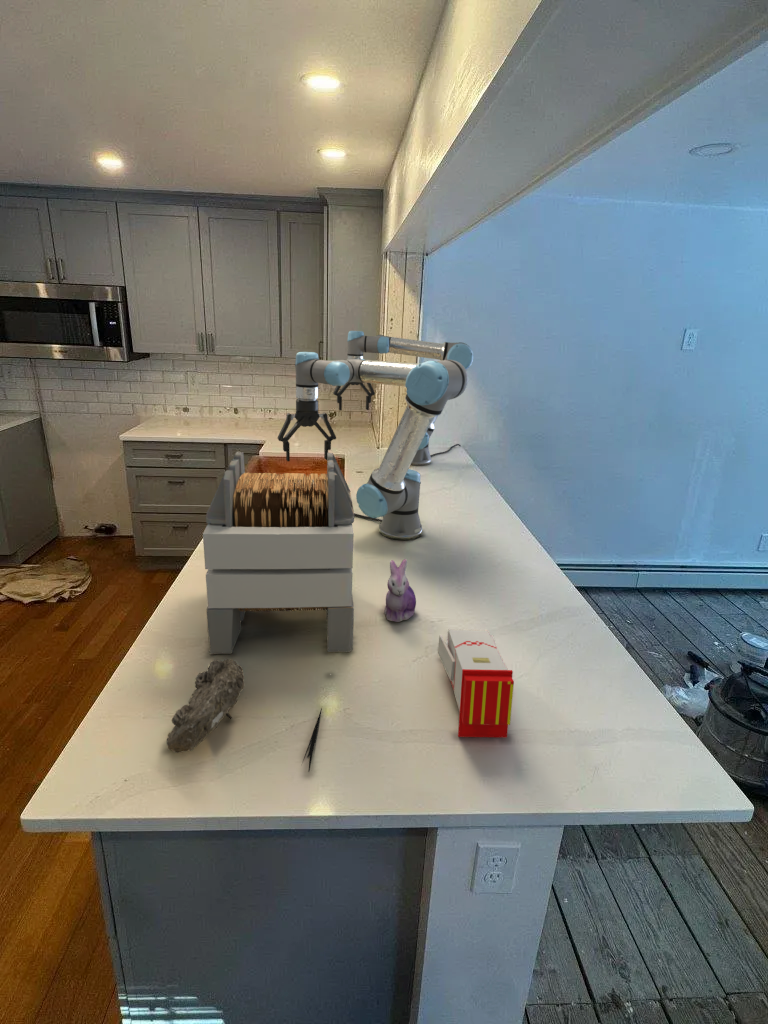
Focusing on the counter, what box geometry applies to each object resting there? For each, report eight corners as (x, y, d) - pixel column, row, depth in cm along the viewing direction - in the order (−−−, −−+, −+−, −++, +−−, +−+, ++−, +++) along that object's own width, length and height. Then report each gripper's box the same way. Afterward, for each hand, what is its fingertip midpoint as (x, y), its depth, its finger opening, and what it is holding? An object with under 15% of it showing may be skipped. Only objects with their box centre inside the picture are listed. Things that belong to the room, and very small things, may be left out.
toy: (488, 613, 130) (523, 677, 101) (484, 667, 133) (517, 744, 104) (435, 612, 130) (455, 676, 101) (432, 666, 133) (451, 743, 103)
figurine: (392, 627, 141) (395, 572, 136) (374, 608, 149) (376, 556, 144) (425, 619, 145) (429, 566, 140) (405, 601, 154) (408, 550, 149)
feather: (331, 679, 122) (336, 673, 122) (307, 777, 96) (313, 769, 95) (324, 675, 122) (329, 669, 121) (298, 772, 95) (304, 764, 95)
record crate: (229, 585, 158) (221, 442, 144) (346, 584, 161) (350, 444, 148) (206, 656, 126) (193, 481, 112) (353, 652, 130) (358, 483, 116)
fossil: (192, 660, 117) (244, 628, 112) (224, 691, 120) (276, 661, 115) (142, 746, 98) (202, 712, 93) (182, 779, 101) (242, 748, 96)
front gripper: (271, 401, 186) (273, 463, 193) (345, 400, 193) (344, 460, 200) (268, 397, 192) (270, 458, 199) (340, 397, 200) (339, 455, 207)
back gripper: (331, 365, 261) (330, 411, 269) (382, 366, 269) (380, 410, 276) (327, 363, 268) (327, 408, 275) (377, 364, 276) (376, 408, 283)
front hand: (307, 459), depth 200 cm, fingers open, 13 cm apart
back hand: (353, 409), depth 276 cm, fingers open, 13 cm apart
